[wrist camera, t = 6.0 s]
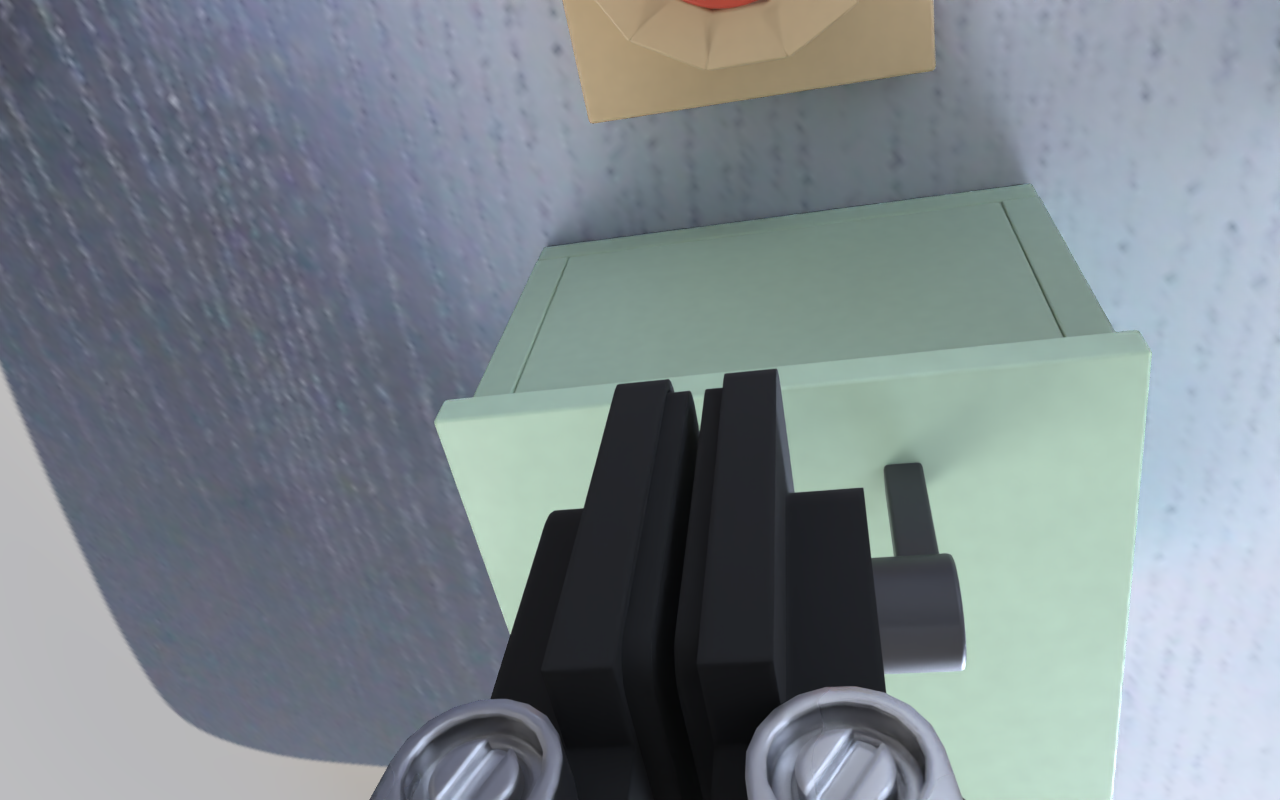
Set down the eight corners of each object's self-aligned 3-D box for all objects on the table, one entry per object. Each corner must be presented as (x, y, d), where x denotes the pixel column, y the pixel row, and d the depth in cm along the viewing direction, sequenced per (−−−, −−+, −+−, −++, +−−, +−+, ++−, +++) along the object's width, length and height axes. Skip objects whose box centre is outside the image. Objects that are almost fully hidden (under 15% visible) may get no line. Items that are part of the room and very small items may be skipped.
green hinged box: (542, 246, 28) (456, 430, 20) (1032, 181, 25) (1135, 366, 18) (643, 630, 35) (605, 864, 28) (1025, 610, 33) (1096, 863, 26)
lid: (443, 398, 20) (350, 580, 16) (1139, 327, 17) (1257, 522, 13) (606, 866, 28) (574, 1071, 24) (1096, 865, 26) (1160, 1095, 21)
